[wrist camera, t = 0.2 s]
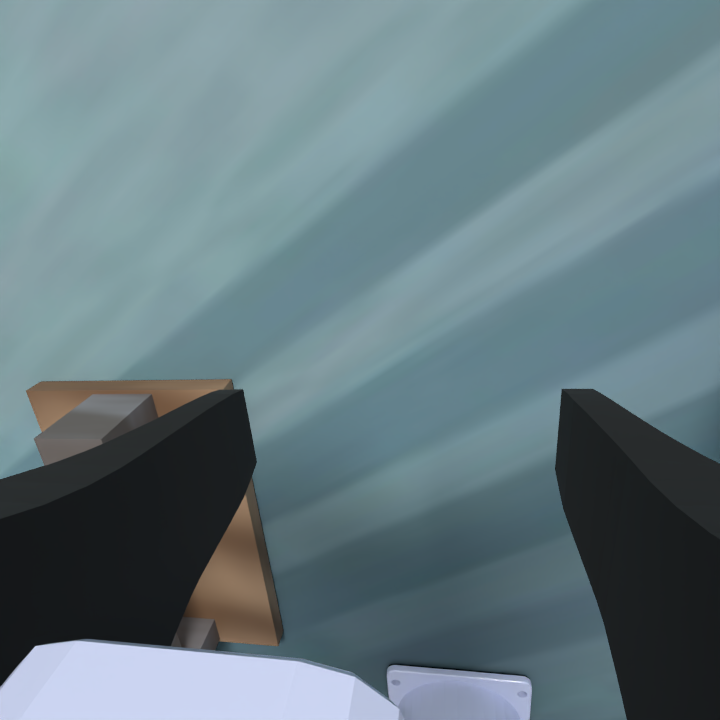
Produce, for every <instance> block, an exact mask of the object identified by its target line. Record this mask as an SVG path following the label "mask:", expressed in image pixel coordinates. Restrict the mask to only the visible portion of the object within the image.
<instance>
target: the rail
mask: <svg viewBox="0 0 720 720" xmlns="http://www.w3.org/2000/svg"><path fill="white" fill-rule="evenodd" d="M216 390H234V389H233V384H232V380H231V379H224V380H135V381H47V382H39V383H38V384H36V385H35V386H33V387H31V388H30V389H28V390H27V391H26V392H27V395H28V397H29V400H30V403H31V405H32V408H33V410H34V413H35V415H36V418H37V421H38V423H39V426H40V428H41V431H42V433H41V434H39V435H38V436H37V437H35V438H34V440H35V443H36V445H37V448H38V450H39V453H40V455H41V458H42V460H43V463H44V465H49V464H52V463H54V462H57V461H60V460H63V459H65V458H68V457H71V456H73V455H76V454H79V453H81V452H84V451H87V450H89V449H91V448H94V447H96V446H99V445H101V444H103V443H106V442H108V441H110V440H112V439H114V438H117V437H119V436H121V435H123V434H125V433H127V432H129V431H132V430H134V429H136V428H138V427H140V426H142V425H144V424H147V423H149V422H151V421H153V420H155V419H157V418H159V417H161V416H163V415H164V414H166V413H168V412H170V411H172V410H174V409H176V408H178V407H180V406H182V405H184V404H186V403H188V402H190V401H193V400H195V399H197V398H199V397H201V396H203V395H206V394H208V393H210V392H213V391H216ZM282 634H283V626H282V622H281V617H280V612H279V607H278V602H277V597H276V592H275V588H274V583H273V578H272V573H271V568H270V563H269V559H268V554H267V549H266V544H265V539H264V534H263V530H262V525H261V520H260V515H259V510H258V505H257V501H256V496H255V491H254V486H253V481H252V477H251V480H250V483H249V486H248V488H247V491H246V493H245V496H244V498H243V500H242V502H241V504H240V506H239V508H238V510H237V512H236V513H235V515H234V517H233V519H232V521H231V523H230V525H229V526H228V528H227V530H226V532H225V534H224V535H223V537H222V539H221V541H220V543H219V544H218V546H217V548H216V550H215V552H214V554H213V555H212V557H211V559H210V561H209V563H208V564H207V566H206V568H205V570H204V572H203V573H202V575H201V577H200V579H199V581H198V583H197V585H196V587H195V589H194V591H193V593H192V596H191V598H190V601H189V603H188V605H187V608H186V610H185V613H184V615H183V617H182V620H181V622H180V624H179V627H178V629H177V632H176V634H175V637H174V639H173V642H172V644H171V647H182V648H193V649H204V650H215V649H216V647H217V645H218V642H219V641H222V642H234V643H246V644H258V645H270V646H279V643H280V640H281V637H282Z"/></svg>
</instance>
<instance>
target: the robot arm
mask: <svg viewBox="0 0 720 720" xmlns="http://www.w3.org/2000/svg"><path fill="white" fill-rule="evenodd" d="M256 463H257V461H256V455H255V450H254V445H253V439H252V434H251V429H250V424H249V418H248V413H247V408H246V402H245V397H244V392H243V390H216V391H213V392H210V393H208V394H206V395H203V396H201V397H199V398H197V399H195V400H193V401H190V402H188V403H186V404H184V405H182V406H180V407H178V408H176V409H174V410H172V411H170V412H168V413H166V414H164V415H163V416H161V417H159V418H157V419H155V420H153V421H151V422H149V423H147V424H144V425H142V426H140V427H138V428H136V429H134V430H132V431H129V432H127V433H125V434H123V435H121V436H119V437H117V438H114V439H112V440H110V441H108V442H106V443H103V444H101V445H99V446H96V447H94V448H91V449H89V450H87V451H84V452H81V453H79V454H76V455H73V456H71V457H68V458H65V459H63V460H60V461H57V462H54V463H52V464H49V465H45V466H42V467H39V468H36V469H32V470H29V471H26V472H23V473H20V474H16V475H13V476H10V477H7V478H3V479H0V720H530V709H531V695H532V685H531V681H530V679H529V678H527V677H525V676H517V675H506V674H494V673H483V672H471V671H460V670H448V669H437V668H425V667H414V666H402V665H391V666H389V667H388V669H387V684H388V694H389V698H387V697H386V696H385V695H383V694H382V693H380V692H379V691H378V690H376V689H375V688H374V687H372V686H371V685H369V684H368V683H367V682H365V681H364V680H362V679H361V678H360V677H358V676H357V675H356V674H354V673H353V672H350V671H346V670H342V669H339V668H335V667H331V666H328V665H324V664H320V663H317V662H313V661H309V660H306V659H302V658H291V657H280V656H269V655H258V654H247V653H236V652H225V651H215V650H204V649H193V648H182V647H171V644H172V642H173V639H174V637H175V634H176V632H177V629H178V627H179V624H180V622H181V620H182V617H183V615H184V613H185V610H186V608H187V605H188V603H189V601H190V598H191V596H192V593H193V591H194V589H195V587H196V585H197V583H198V581H199V579H200V577H201V575H202V573H203V572H204V570H205V568H206V566H207V564H208V563H209V561H210V559H211V557H212V555H213V554H214V552H215V550H216V548H217V546H218V544H219V543H220V541H221V539H222V537H223V535H224V534H225V532H226V530H227V528H228V526H229V525H230V523H231V521H232V519H233V517H234V515H235V513H236V512H237V510H238V508H239V506H240V504H241V502H242V500H243V498H244V496H245V493H246V491H247V488H248V486H249V483H250V480H251V477H252V475H253V472H254V469H255V466H256ZM555 471H556V476H557V481H558V486H559V491H560V495H561V500H562V505H563V509H564V512H565V515H566V518H567V520H568V523H569V526H570V529H571V532H572V534H573V537H574V540H575V543H576V545H577V548H578V551H579V554H580V556H581V559H582V562H583V564H584V567H585V570H586V573H587V575H588V578H589V581H590V584H591V586H592V589H593V592H594V594H595V597H596V600H597V603H598V606H599V609H600V612H601V616H602V619H603V622H604V626H605V630H606V634H607V638H608V642H609V646H610V650H611V654H612V658H613V662H614V666H615V670H616V674H617V678H618V683H619V687H620V691H621V696H622V700H623V704H624V709H625V713H626V717H627V720H720V464H719V463H717V462H715V461H713V460H711V459H709V458H707V457H705V456H703V455H701V454H700V453H698V452H696V451H694V450H692V449H690V448H689V447H687V446H685V445H683V444H681V443H680V442H678V441H676V440H674V439H673V438H671V437H669V436H668V435H666V434H664V433H662V432H661V431H659V430H658V429H656V428H654V427H653V426H651V425H649V424H648V423H646V422H645V421H643V420H642V419H640V418H638V417H637V416H635V415H634V414H632V413H631V412H629V411H628V410H626V409H625V408H623V407H621V406H620V405H618V404H617V403H615V402H614V401H612V400H611V399H609V398H608V397H606V396H604V395H603V394H601V393H599V392H598V391H596V390H594V389H562V394H561V406H560V418H559V430H558V442H557V453H556V465H555Z"/></svg>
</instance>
